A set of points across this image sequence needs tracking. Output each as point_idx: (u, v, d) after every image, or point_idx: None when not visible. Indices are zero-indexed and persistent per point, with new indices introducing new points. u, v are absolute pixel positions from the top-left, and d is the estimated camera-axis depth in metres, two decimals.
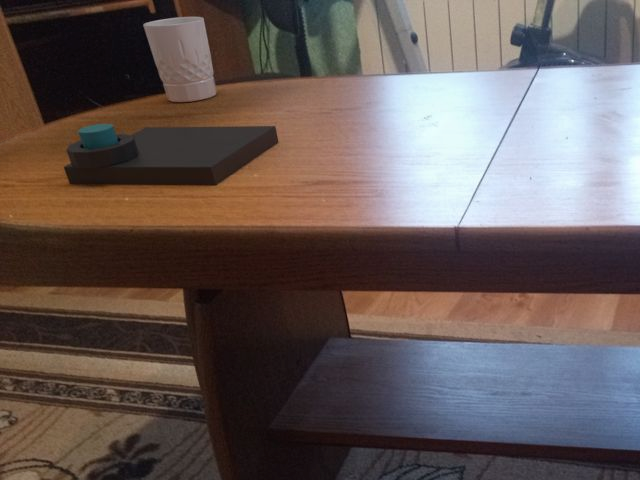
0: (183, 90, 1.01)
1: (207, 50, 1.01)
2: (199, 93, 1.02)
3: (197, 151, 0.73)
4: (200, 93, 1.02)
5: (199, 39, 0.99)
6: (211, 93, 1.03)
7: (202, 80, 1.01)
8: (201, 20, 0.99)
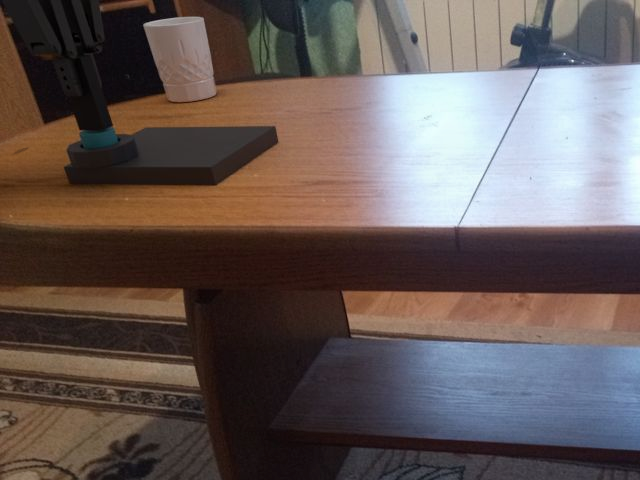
0: (183, 90, 1.01)
1: (207, 50, 1.01)
2: (199, 93, 1.02)
3: (197, 151, 0.73)
4: (200, 93, 1.02)
5: (199, 39, 0.99)
6: (211, 93, 1.03)
7: (202, 80, 1.01)
8: (201, 20, 0.99)
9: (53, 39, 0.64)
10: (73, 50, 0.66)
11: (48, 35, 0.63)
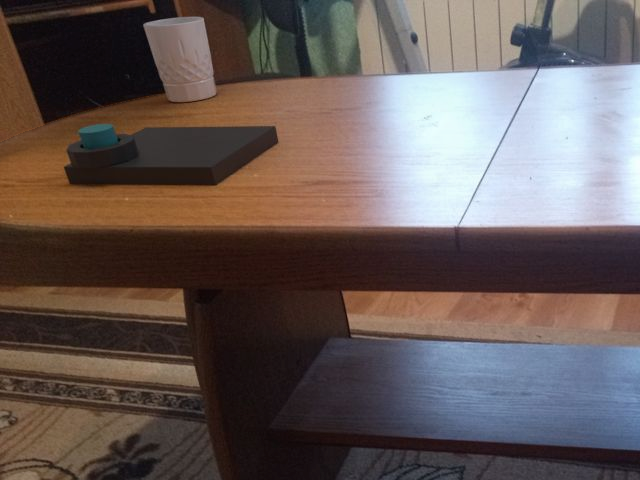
0: (183, 90, 1.01)
1: (207, 50, 1.01)
2: (199, 93, 1.02)
3: (197, 151, 0.73)
4: (200, 93, 1.02)
5: (199, 39, 0.99)
6: (211, 93, 1.03)
7: (202, 80, 1.01)
8: (201, 20, 0.99)
9: None
10: None
11: None
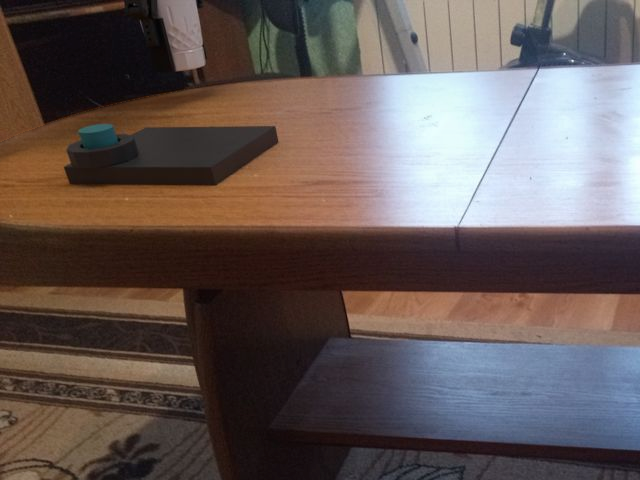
0: None
1: (196, 19, 0.99)
2: (187, 63, 0.99)
3: (197, 151, 0.73)
4: (189, 63, 1.00)
5: (188, 7, 0.97)
6: (200, 63, 1.01)
7: (190, 50, 0.99)
8: None
9: (145, 4, 0.92)
10: (155, 13, 0.94)
11: (142, 0, 0.91)
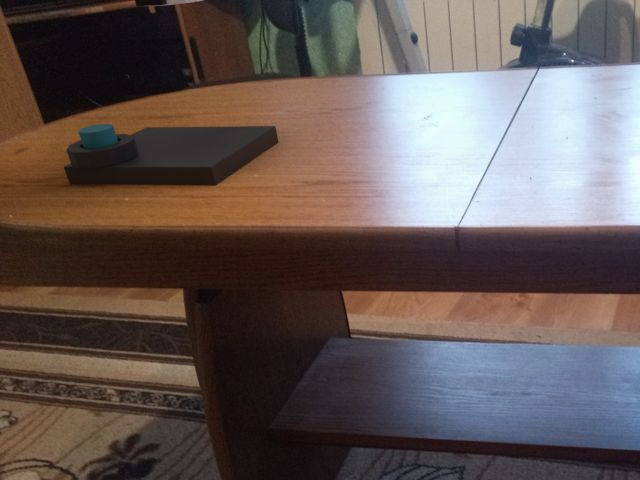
0: None
1: None
2: None
3: (197, 151, 0.73)
4: None
5: None
6: None
7: None
8: None
9: None
10: None
11: None
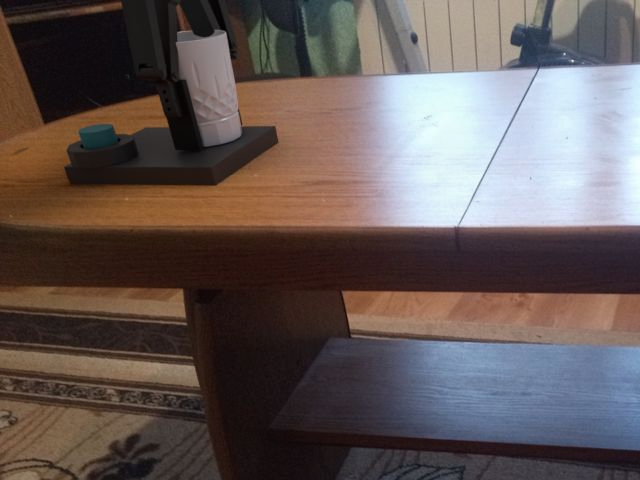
0: None
1: (231, 76, 0.73)
2: (219, 136, 0.73)
3: (197, 151, 0.73)
4: (221, 135, 0.74)
5: (220, 62, 0.71)
6: (235, 135, 0.75)
7: (223, 118, 0.73)
8: (223, 35, 0.71)
9: (162, 63, 0.66)
10: (176, 74, 0.68)
11: (158, 58, 0.66)
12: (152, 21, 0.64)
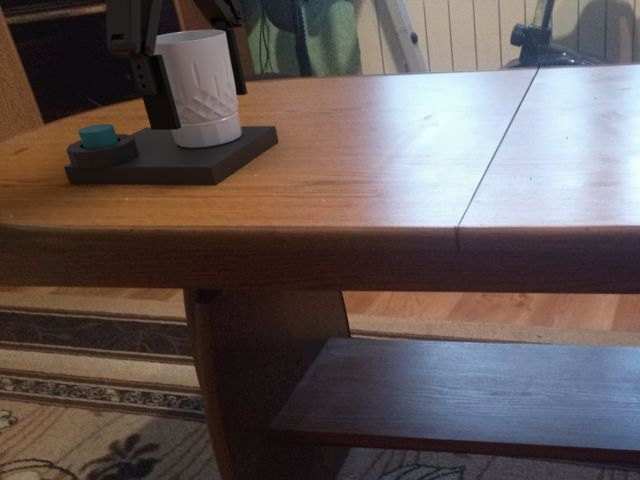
0: (197, 132, 0.73)
1: (230, 76, 0.73)
2: (219, 136, 0.73)
3: (197, 151, 0.73)
4: (221, 135, 0.74)
5: (219, 62, 0.71)
6: (235, 134, 0.75)
7: (223, 118, 0.73)
8: (222, 35, 0.71)
9: (137, 37, 0.63)
10: (151, 48, 0.64)
11: (134, 30, 0.62)
12: None
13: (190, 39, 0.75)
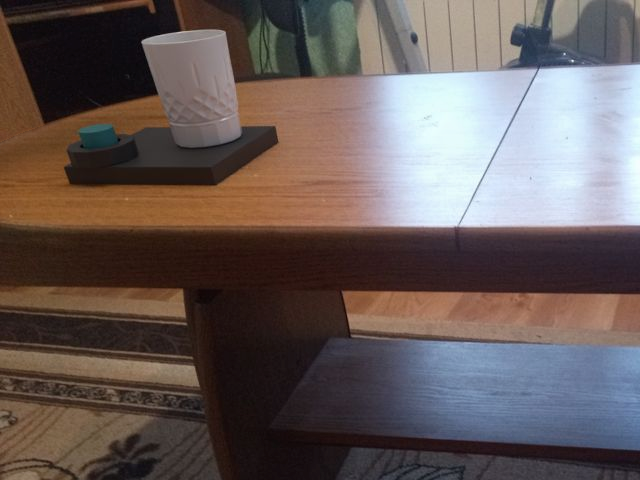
0: (197, 132, 0.73)
1: (230, 76, 0.73)
2: (219, 136, 0.73)
3: (197, 151, 0.73)
4: (221, 135, 0.74)
5: (219, 62, 0.71)
6: (235, 134, 0.75)
7: (223, 118, 0.73)
8: (222, 35, 0.71)
9: None
10: None
11: None
12: None
13: (190, 39, 0.75)
